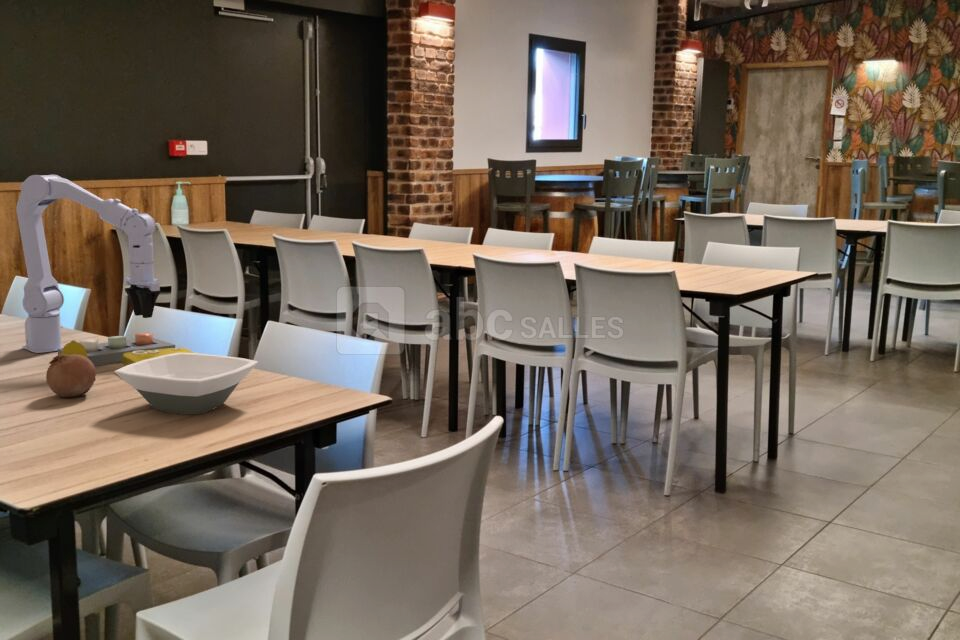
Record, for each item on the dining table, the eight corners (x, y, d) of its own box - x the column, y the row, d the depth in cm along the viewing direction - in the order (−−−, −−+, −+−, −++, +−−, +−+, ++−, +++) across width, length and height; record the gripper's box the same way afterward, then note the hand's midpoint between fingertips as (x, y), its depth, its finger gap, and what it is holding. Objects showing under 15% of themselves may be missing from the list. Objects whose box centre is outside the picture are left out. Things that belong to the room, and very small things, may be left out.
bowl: (203, 427, 178) (202, 383, 177) (105, 413, 186) (103, 370, 184) (268, 400, 198) (268, 360, 197) (177, 388, 206) (176, 350, 205)
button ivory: (77, 351, 231) (76, 340, 231) (94, 349, 234) (93, 338, 234) (84, 353, 228) (84, 343, 228) (101, 351, 231) (101, 341, 231)
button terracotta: (132, 344, 241) (132, 334, 240) (148, 342, 244) (148, 332, 243) (140, 346, 238) (139, 336, 238) (156, 344, 241) (155, 334, 241)
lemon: (81, 378, 213) (80, 343, 212) (57, 377, 213) (55, 342, 212) (92, 372, 219) (90, 338, 217) (68, 372, 219) (66, 337, 218)
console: (58, 358, 232) (57, 348, 232) (151, 346, 249) (150, 337, 249) (80, 367, 223) (80, 357, 223) (175, 354, 240) (175, 344, 240)
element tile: (142, 383, 212) (141, 362, 211) (120, 371, 223) (119, 351, 222) (207, 375, 221) (207, 355, 220) (183, 363, 232) (182, 344, 232)
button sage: (105, 347, 236) (105, 337, 236) (121, 345, 239) (121, 335, 238) (112, 350, 233) (112, 339, 233) (129, 348, 236) (129, 337, 236)
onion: (55, 413, 196) (29, 373, 191) (70, 390, 204) (45, 351, 200) (97, 398, 195) (71, 358, 190) (110, 376, 203) (86, 337, 199)
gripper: (170, 264, 235) (172, 318, 238) (143, 259, 245) (144, 311, 248) (143, 266, 230) (145, 321, 233) (116, 260, 240) (118, 313, 243)
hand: (143, 316), depth 240 cm, fingers open, 4 cm apart
